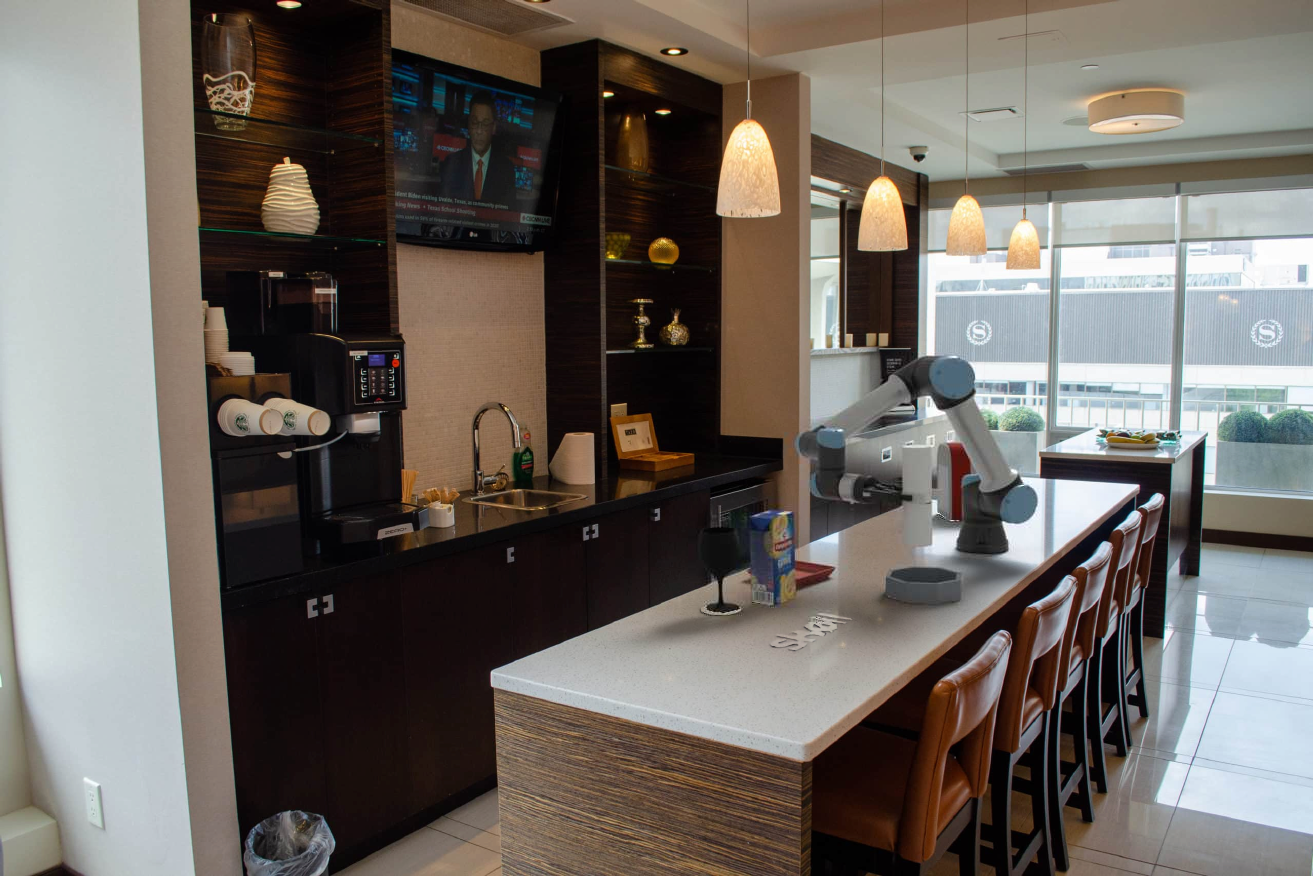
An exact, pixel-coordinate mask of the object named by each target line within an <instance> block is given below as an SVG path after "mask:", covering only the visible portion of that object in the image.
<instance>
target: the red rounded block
mask: <svg viewBox="0 0 1313 876" xmlns="http://www.w3.org/2000/svg"><path fill="white" fill-rule="evenodd" d="M971 474H977V472H976V470H975V468H974V466H973V464H972V462H971V461H970V459H969V457H968V455H967V453H966V451H965V449H964V447H963V445H962V443H961V441H949V442H945V441H944V442H942V443H939V444H938V446H937V451H936V489H942V490H944V501H940V500H936V503H937V505H936V506H937V512H938V513H940V514H941V515H943V516H944V517H946V519H948V520H962V489H961V486H962V478H963V477H964V476H965V475H971ZM946 519H945V520H946ZM948 520H947V521H948Z"/></svg>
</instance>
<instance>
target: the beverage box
mask: <svg viewBox="0 0 1313 876" xmlns="http://www.w3.org/2000/svg"><path fill="white" fill-rule="evenodd" d="M748 526H749V527H748V528H749V529H748V533H749V536H748V537H749V561H750V564H749V565H750V566H749V567H750V568H749V569H750V570H751V575H750V594H751V595H750V597H751V598H750V599H751V601H752V602H759V603H765V604H771V605H777V604H779V605H781V604H783V603H785V602H787V601H789V600H791V599H793V598H795V597H797V587H796V579H795V560H796V548H795V547H796V544H795V542H796V541H795V540H796V538H795V513H794V511H788V510H775V509H769V510H766V511H762V512H760V513H756V514H753V515H750V516H748ZM794 596H795V597H794ZM788 599H789V600H788ZM751 601H750V602H751ZM784 601H785V602H784ZM782 602H783V603H782ZM780 603H781V604H780ZM777 606H778V605H777Z"/></svg>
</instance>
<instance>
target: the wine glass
mask: <svg viewBox="0 0 1313 876" xmlns="http://www.w3.org/2000/svg"><path fill="white" fill-rule="evenodd" d="M697 555H698V559H699V562H700V563H701V565H702V566H703V568H704V570H706V572H708V573H709V574H710V575H712V576H713V577H714V578H715V579H716V581H717V587H718V600H717V602H713V603H708V604H709V605H708V604H706V605H707V607H706V608H707V610H709V611H713V612H721V613H725V612H730V611H734V610H738V609H740V608H739V607H740V606H741V605H739V604H737V603H736V604H737V605H736V604H735V603H731V602H725V601H724V596H723V592H724V591H723V583H724V579H725V577H727V576H728V575H729V574H730V573H731V572H732V571H733V570H734V569H735V568H736V567H737V564H738V563H739V561H740V557H741V542H740V538H739V535H738V531H737V529H736V528H734V527H730V526H729V527H728V526H712V527H706V528H702V529H701V530H700V533H699V536H698V542H697ZM738 605H739V606H738Z"/></svg>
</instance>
